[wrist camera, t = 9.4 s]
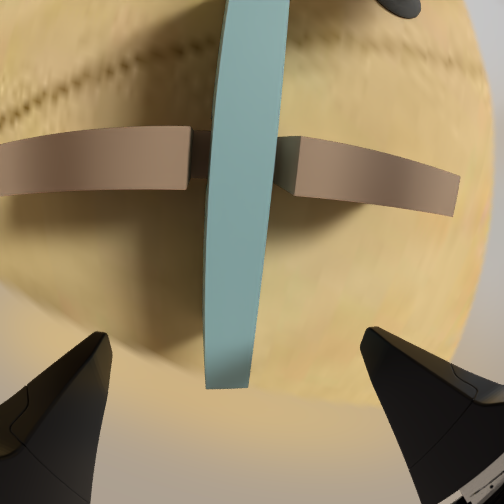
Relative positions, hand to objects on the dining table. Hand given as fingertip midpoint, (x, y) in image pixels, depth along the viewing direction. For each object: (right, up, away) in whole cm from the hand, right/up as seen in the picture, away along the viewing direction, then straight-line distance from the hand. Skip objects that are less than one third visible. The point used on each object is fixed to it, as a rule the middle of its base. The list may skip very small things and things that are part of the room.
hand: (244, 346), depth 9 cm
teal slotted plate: (-1, +8, +5) cm, 10 cm away
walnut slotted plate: (-1, +8, +5) cm, 10 cm away
